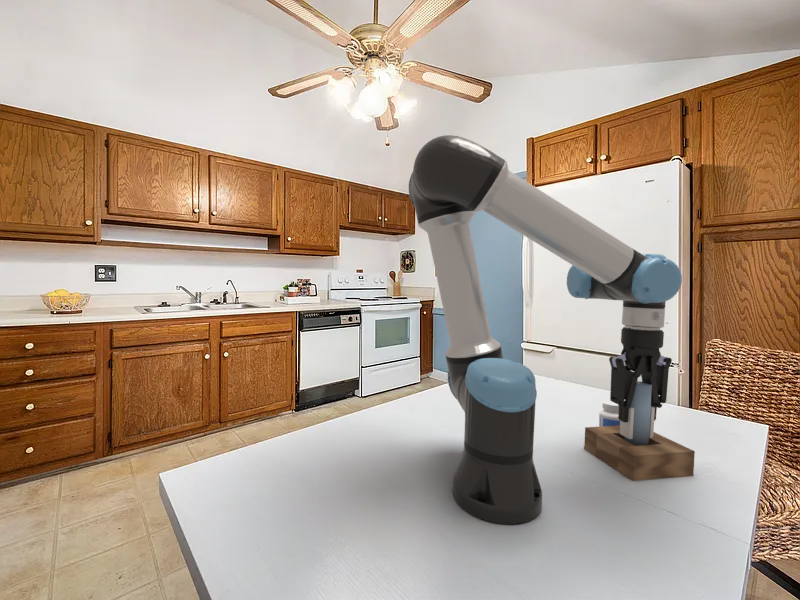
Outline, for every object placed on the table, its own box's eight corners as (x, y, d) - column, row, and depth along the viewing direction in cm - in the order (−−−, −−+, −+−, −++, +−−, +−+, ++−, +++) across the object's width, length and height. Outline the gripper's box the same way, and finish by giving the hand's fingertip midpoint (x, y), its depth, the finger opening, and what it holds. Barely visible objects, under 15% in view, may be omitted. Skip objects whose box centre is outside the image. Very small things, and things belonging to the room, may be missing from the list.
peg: (635, 453, 77) (639, 386, 76) (619, 443, 81) (622, 381, 80) (653, 451, 78) (657, 386, 77) (636, 442, 82) (639, 380, 81)
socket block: (633, 480, 71) (634, 455, 71) (584, 448, 85) (585, 427, 85) (693, 475, 74) (694, 451, 74) (636, 444, 88) (637, 424, 88)
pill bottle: (630, 447, 87) (630, 406, 87) (609, 448, 86) (609, 406, 86) (613, 438, 93) (614, 399, 93) (594, 439, 92) (594, 400, 92)
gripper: (620, 330, 73) (614, 445, 74) (693, 330, 76) (686, 440, 77) (593, 325, 80) (588, 430, 81) (661, 325, 84) (655, 426, 85)
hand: (636, 435), depth 79 cm, fingers closed on peg, 4 cm apart
